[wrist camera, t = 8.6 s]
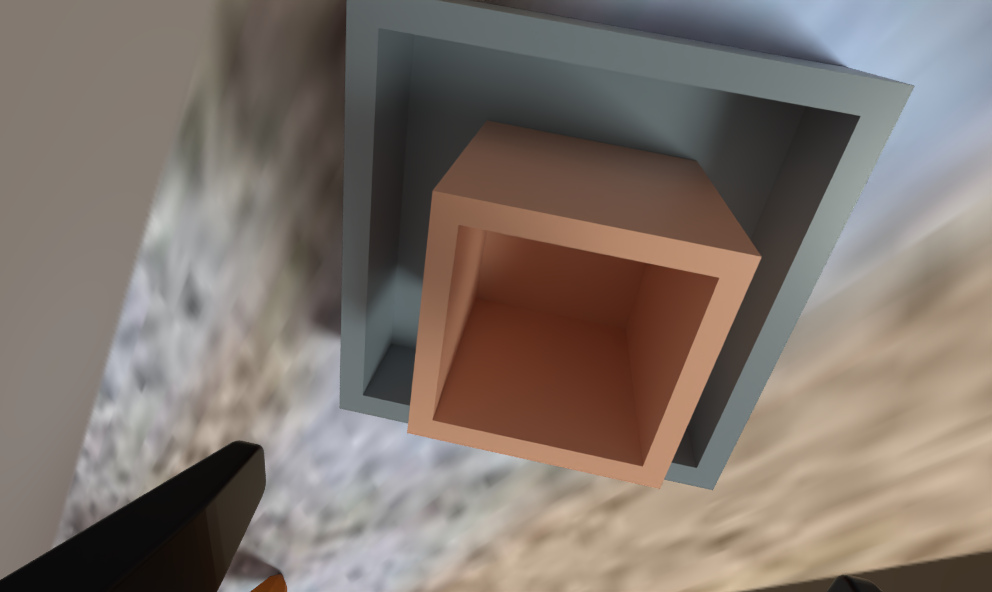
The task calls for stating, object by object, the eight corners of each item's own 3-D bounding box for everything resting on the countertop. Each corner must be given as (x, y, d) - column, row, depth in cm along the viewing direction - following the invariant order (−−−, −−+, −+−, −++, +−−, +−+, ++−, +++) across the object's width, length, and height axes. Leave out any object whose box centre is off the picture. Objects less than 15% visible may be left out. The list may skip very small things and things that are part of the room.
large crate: (842, 65, 16) (914, 86, 12) (692, 412, 22) (712, 490, 19) (397, -14, 16) (346, -17, 13) (377, 345, 23) (339, 408, 19)
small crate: (697, 161, 17) (761, 256, 11) (636, 337, 20) (660, 488, 14) (486, 120, 17) (432, 190, 11) (460, 300, 20) (407, 432, 14)
